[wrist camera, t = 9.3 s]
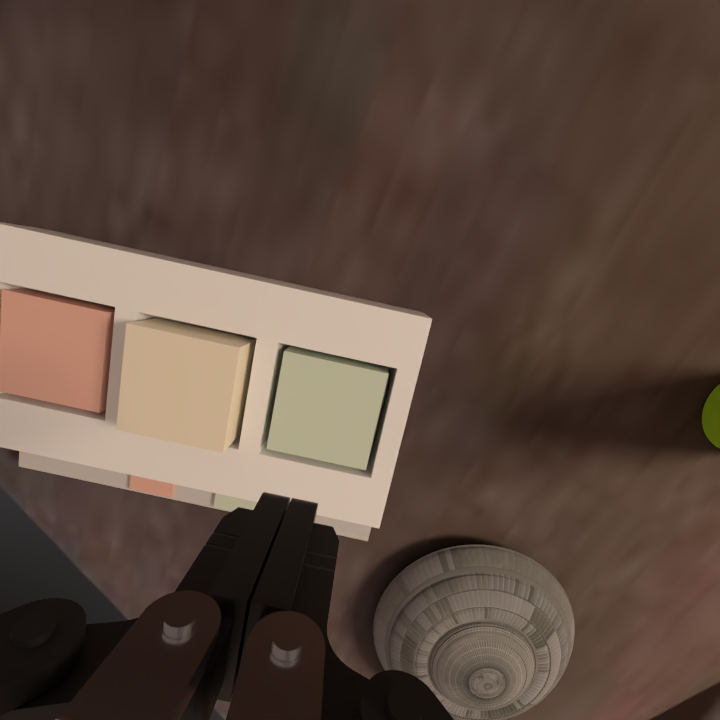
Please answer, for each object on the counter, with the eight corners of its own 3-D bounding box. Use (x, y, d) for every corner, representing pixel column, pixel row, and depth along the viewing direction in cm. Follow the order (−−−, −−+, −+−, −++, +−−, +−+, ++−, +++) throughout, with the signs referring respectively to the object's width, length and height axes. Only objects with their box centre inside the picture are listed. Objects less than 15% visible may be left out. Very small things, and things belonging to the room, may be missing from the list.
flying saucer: (545, 511, 29) (583, 563, 24) (580, 674, 32) (622, 754, 27) (350, 556, 31) (345, 615, 25) (400, 709, 33) (405, 792, 28)
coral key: (139, 308, 25) (108, 312, 22) (129, 398, 26) (99, 412, 23) (45, 288, 25) (1, 289, 22) (40, 378, 26) (-2, 391, 23)
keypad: (421, 311, 26) (432, 318, 21) (368, 528, 30) (366, 577, 25) (48, 229, 26) (-27, 217, 21) (36, 457, 29) (-32, 492, 25)
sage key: (387, 362, 25) (388, 373, 22) (366, 449, 26) (365, 470, 23) (294, 342, 25) (283, 350, 22) (278, 429, 26) (266, 448, 23)
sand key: (256, 339, 24) (239, 347, 21) (241, 432, 25) (223, 452, 22) (157, 317, 24) (126, 322, 21) (146, 412, 25) (116, 429, 22)
